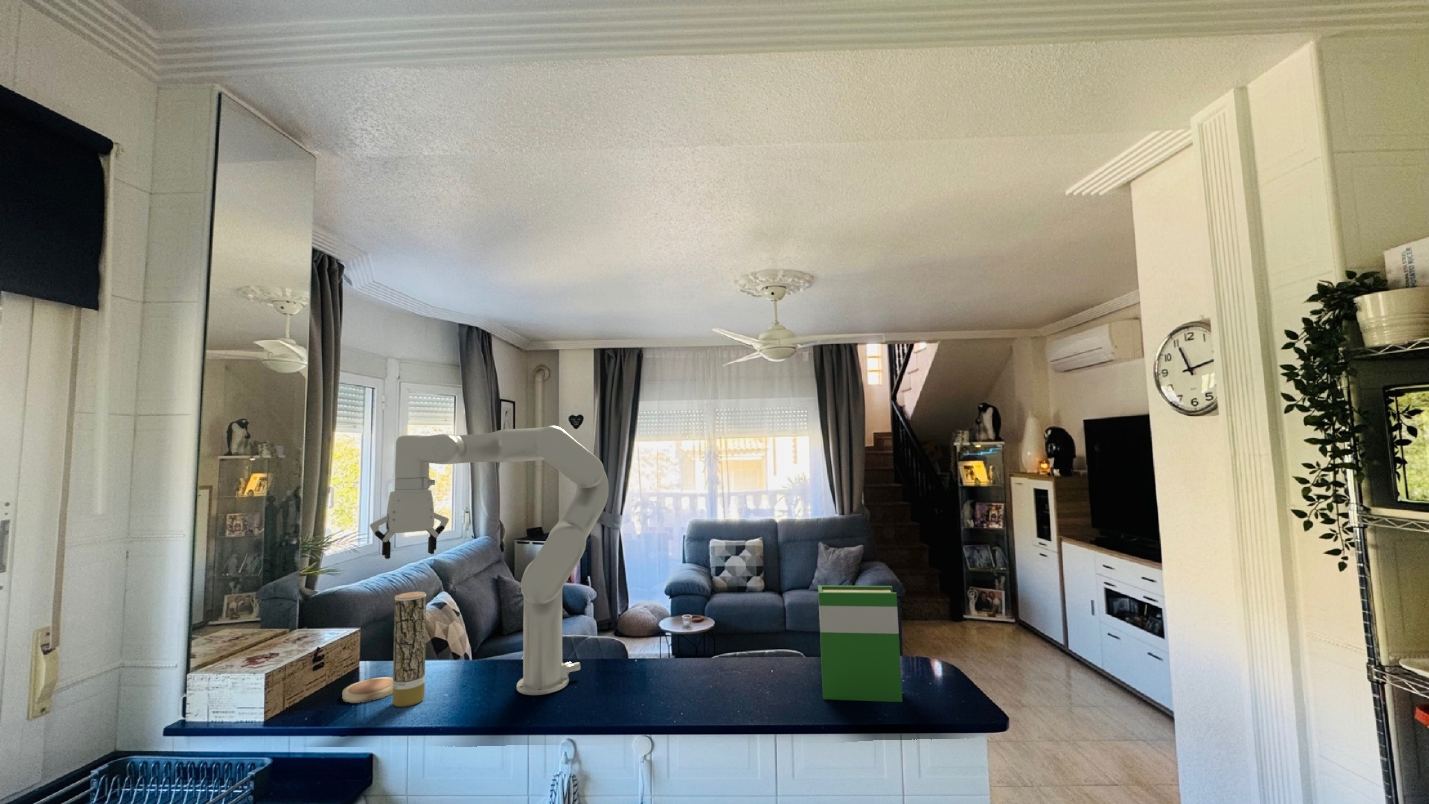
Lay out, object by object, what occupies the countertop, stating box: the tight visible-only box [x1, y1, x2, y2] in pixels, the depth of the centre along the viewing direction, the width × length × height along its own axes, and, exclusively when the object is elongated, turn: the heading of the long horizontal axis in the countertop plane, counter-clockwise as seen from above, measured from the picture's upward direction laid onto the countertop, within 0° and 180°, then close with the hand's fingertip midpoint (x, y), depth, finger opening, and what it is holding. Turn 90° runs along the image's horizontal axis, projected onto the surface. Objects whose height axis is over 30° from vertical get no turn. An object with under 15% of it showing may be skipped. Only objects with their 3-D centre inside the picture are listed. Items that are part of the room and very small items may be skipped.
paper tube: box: [392, 591, 427, 708], centre depth 139 cm, size 7×7×25 cm
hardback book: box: [817, 585, 903, 703], centre depth 137 cm, size 18×7×24 cm, turn 81°
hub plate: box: [341, 676, 393, 704], centre depth 145 cm, size 12×12×2 cm
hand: (409, 555), depth 141 cm, fingers open, 9 cm apart
